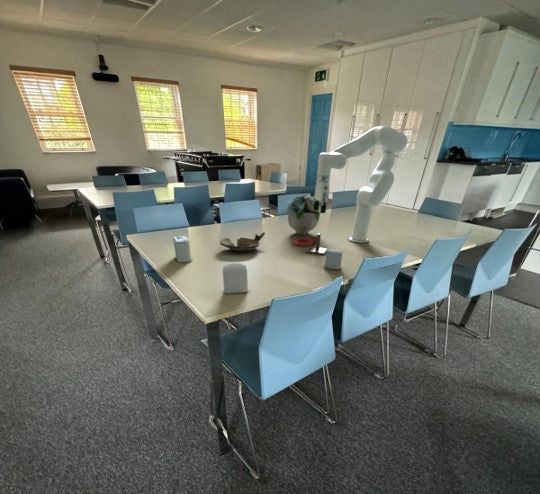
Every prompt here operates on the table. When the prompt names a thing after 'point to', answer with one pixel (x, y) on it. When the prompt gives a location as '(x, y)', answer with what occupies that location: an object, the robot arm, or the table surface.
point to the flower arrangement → (303, 214)
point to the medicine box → (333, 259)
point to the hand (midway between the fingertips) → (319, 211)
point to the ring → (308, 242)
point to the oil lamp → (242, 243)
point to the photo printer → (235, 278)
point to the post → (317, 247)
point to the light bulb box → (182, 249)
